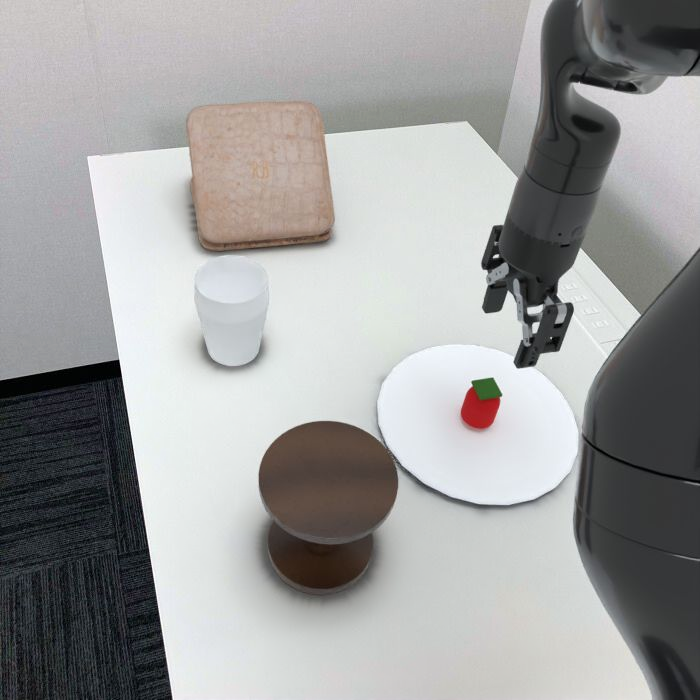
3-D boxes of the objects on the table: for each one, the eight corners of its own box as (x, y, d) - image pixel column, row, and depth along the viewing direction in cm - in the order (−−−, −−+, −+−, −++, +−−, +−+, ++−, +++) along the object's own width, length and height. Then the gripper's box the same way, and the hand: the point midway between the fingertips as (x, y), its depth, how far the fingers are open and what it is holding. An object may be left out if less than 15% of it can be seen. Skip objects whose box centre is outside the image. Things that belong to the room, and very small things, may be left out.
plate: (397, 519, 81) (399, 513, 80) (360, 353, 97) (361, 347, 96) (608, 500, 85) (612, 494, 84) (537, 344, 102) (540, 338, 101)
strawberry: (499, 425, 89) (510, 398, 86) (468, 431, 88) (477, 403, 85) (486, 399, 92) (496, 371, 88) (455, 404, 91) (464, 377, 87)
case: (200, 257, 108) (193, 162, 96) (187, 177, 122) (180, 85, 110) (336, 247, 112) (345, 155, 101) (309, 170, 126) (314, 81, 115)
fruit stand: (397, 588, 75) (417, 522, 66) (272, 618, 72) (274, 552, 62) (361, 483, 83) (374, 411, 74) (247, 504, 80) (246, 432, 71)
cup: (251, 382, 92) (250, 313, 84) (185, 361, 94) (178, 291, 85) (279, 335, 98) (281, 266, 90) (217, 316, 100) (213, 246, 91)
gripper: (482, 175, 72) (451, 298, 84) (547, 267, 63) (501, 391, 75) (550, 170, 74) (510, 290, 86) (622, 258, 65) (567, 380, 77)
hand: (506, 337), depth 80 cm, fingers open, 8 cm apart
